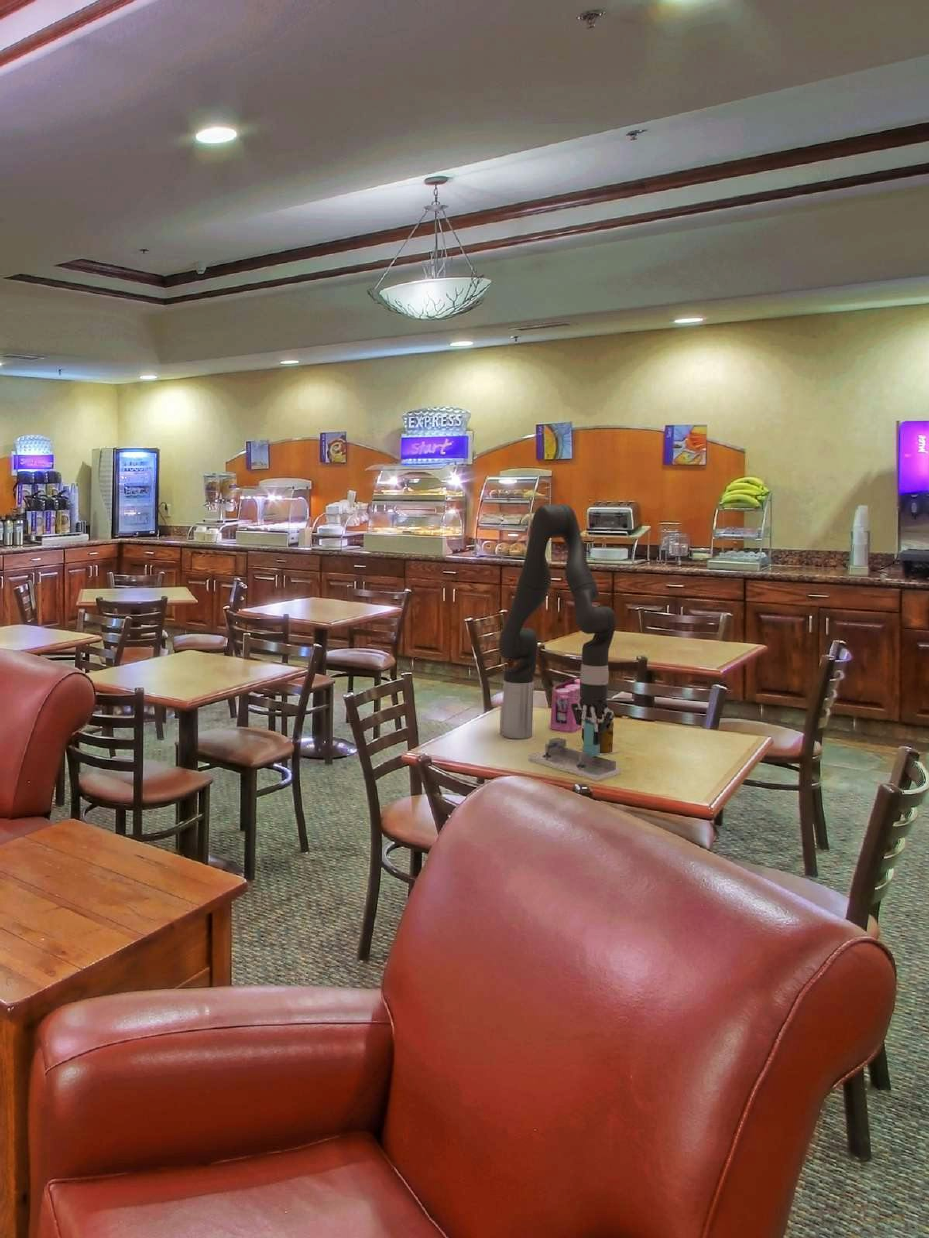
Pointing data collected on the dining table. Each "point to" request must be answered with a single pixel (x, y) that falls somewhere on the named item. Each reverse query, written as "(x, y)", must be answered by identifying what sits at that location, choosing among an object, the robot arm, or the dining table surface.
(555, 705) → the gum box
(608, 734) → the condiment
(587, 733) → the leg
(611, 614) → the robot arm
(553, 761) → the hole plate
